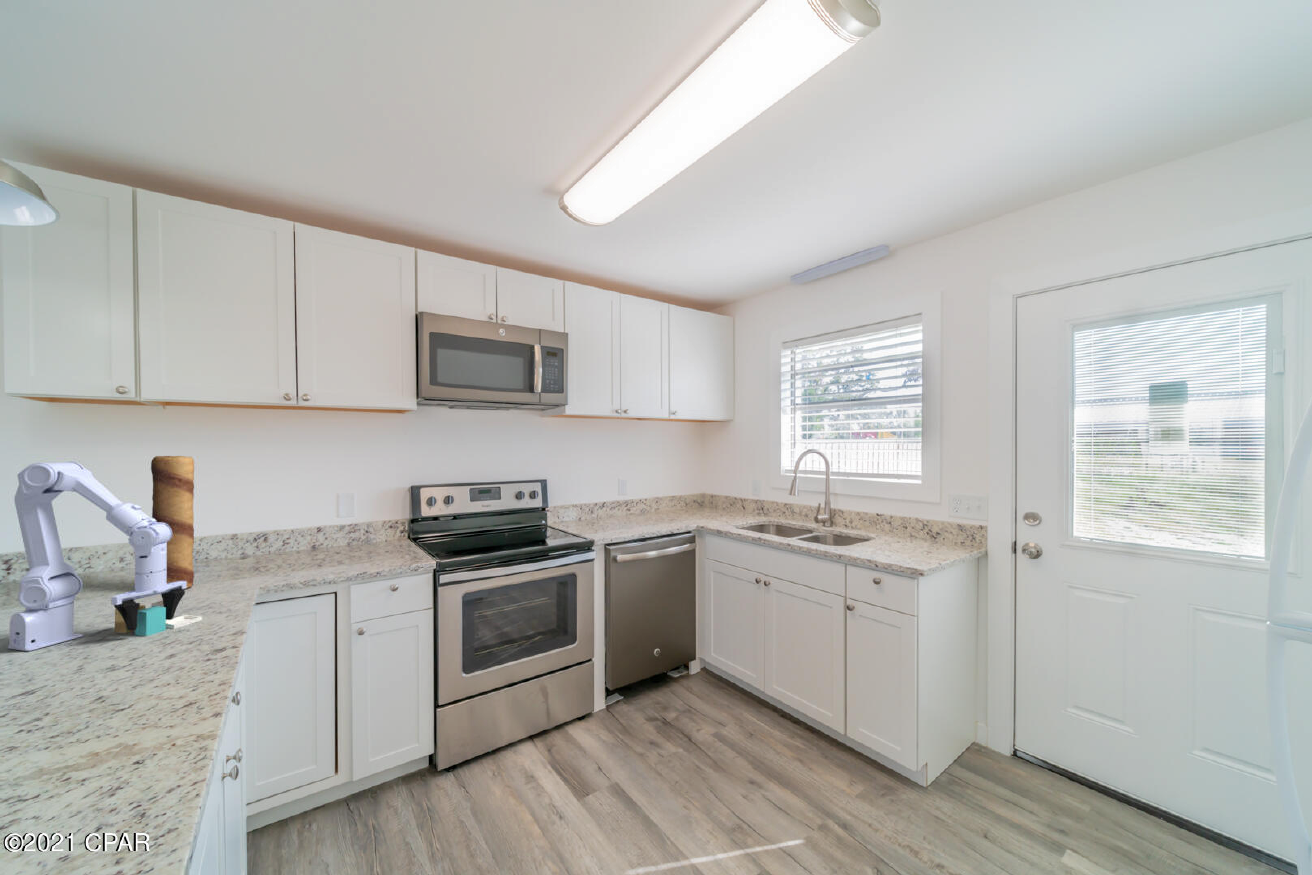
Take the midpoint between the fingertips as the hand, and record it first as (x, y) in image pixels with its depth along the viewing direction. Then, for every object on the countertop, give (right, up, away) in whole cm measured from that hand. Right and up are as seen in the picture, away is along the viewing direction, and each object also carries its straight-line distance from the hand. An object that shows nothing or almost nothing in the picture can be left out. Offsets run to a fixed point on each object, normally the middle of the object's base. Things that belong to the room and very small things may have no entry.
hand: (150, 624), depth 127 cm
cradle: (+1, -2, +6) cm, 7 cm away
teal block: (0, -2, 0) cm, 2 cm away
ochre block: (-7, -2, +2) cm, 8 cm away
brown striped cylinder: (-33, -3, +39) cm, 52 cm away
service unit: (-5, -2, +9) cm, 11 cm away
